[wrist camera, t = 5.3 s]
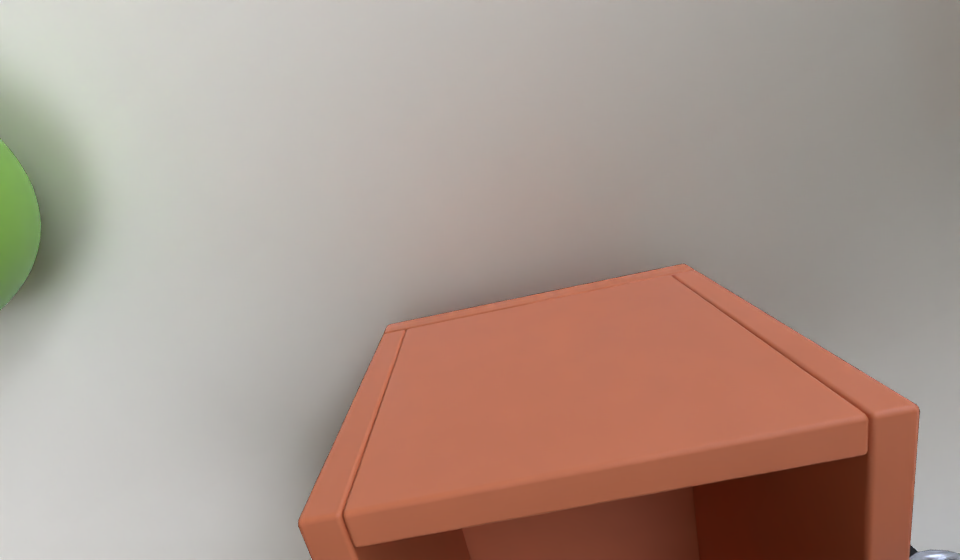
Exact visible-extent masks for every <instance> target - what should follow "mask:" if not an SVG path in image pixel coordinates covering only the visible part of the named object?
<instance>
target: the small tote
mask: <svg viewBox="0 0 960 560" xmlns="http://www.w3.org/2000/svg"><path fill="white" fill-rule="evenodd" d="M919 415H920V410H919V407H918V406H917V405H916V404H914V403H913V402H911V401H910V400H908V399H906V398H905V397H903V396H901V395H900V394H898V393H896V392H895V391H893V390H891V389H890V388H888V387H887V386H885V385H883V384H882V383H880V382H878V381H877V380H875V379H873V378H872V377H870V376H868V375H867V374H865V373H864V372H862V371H860V370H859V369H857V368H855V367H854V366H852V365H850V364H849V363H847V362H845V361H844V360H842V359H841V358H839V357H837V356H836V355H834V354H832V353H831V352H829V351H827V350H826V349H824V348H822V347H821V346H819V345H818V344H816V343H814V342H813V341H811V340H809V339H808V338H806V337H804V336H803V335H801V334H799V333H798V332H796V331H795V330H793V329H791V328H790V327H788V326H786V325H785V324H783V323H781V322H780V321H778V320H776V319H775V318H773V317H772V316H770V315H768V314H767V313H765V312H763V311H762V310H760V309H758V308H757V307H755V306H753V305H752V304H750V303H749V302H747V301H745V300H744V299H742V298H740V297H739V296H737V295H735V294H734V293H732V292H730V291H729V290H727V289H726V288H724V287H722V286H721V285H719V284H717V283H716V282H714V281H712V280H711V279H709V278H707V277H706V276H704V275H703V274H701V273H699V272H698V271H695V270H694V269H693V268H691V267H689V266H688V265H686V264H679V265H675V266H670V267H665V268H660V269H655V270H650V271H646V272H641V273H636V274H631V275H626V276H621V277H616V278H612V279H607V280H602V281H597V282H592V283H587V284H583V285H578V286H573V287H568V288H563V289H558V290H554V291H549V292H544V293H539V294H534V295H529V296H525V297H520V298H515V299H510V300H505V301H500V302H496V303H491V304H486V305H481V306H476V307H471V308H467V309H462V310H457V311H452V312H447V313H442V314H438V315H433V316H428V317H423V318H418V319H413V320H408V321H404V322H399V323H394V324H389V325H388V326H387V327H386V329H385V332H384V335H383V336H382V338H381V340H380V343H379V345H378V347H377V349H376V351H375V353H374V356H373V358H372V360H371V362H370V364H369V367H368V369H367V371H366V373H365V375H364V378H363V380H362V382H361V384H360V386H359V388H358V391H357V393H356V395H355V397H354V399H353V402H352V404H351V406H350V408H349V410H348V413H347V415H346V417H345V419H344V421H343V424H342V426H341V428H340V430H339V432H338V434H337V437H336V439H335V441H334V443H333V445H332V448H331V450H330V452H329V454H328V456H327V459H326V461H325V463H324V465H323V467H322V469H321V472H320V474H319V476H318V478H317V480H316V483H315V485H314V487H313V489H312V491H311V494H310V496H309V498H308V500H307V502H306V505H305V507H304V509H303V511H302V513H301V515H300V518H299V520H298V527H299V529H300V531H301V534H302V536H303V539H304V541H305V544H306V546H307V548H308V551H309V553H310V556H311V558H312V560H909V555H910V541H911V527H912V513H913V499H914V485H915V471H916V457H917V443H918V429H919Z"/></svg>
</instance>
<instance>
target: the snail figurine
mask: <svg viewBox="0 0 960 560" xmlns="http://www.w3.org/2000/svg"><path fill="white" fill-rule="evenodd" d="M40 235H41V219H40V211H39V206H38V202H37V198H36V195H35V192H34V189H33V187H32V184H31V182H30V180H29V178H28V176H27V174H26V172H25V171H24V169H23V167H22V166H21V164H20V163H19V161H18V160H17V158H16V157H15V156H14V154H13V153H12V152H11V150H10V149H9V148H8V147H7V146H6V145H5V143H4V142H3V141H2V140H1V139H0V310H1V309H2V308H3V307H4V306H5V305H6V304H7V303H8V302H9V301H10V300H11V299H12V298H13V297H14V295H15V294H16V293H17V292H18V290H19V289H20V288H21V286H22V285H23V283H24V282H25V280H26V278H27V277H28V275H29V273H30V271H31V269H32V267H33V264H34V262H35V259H36V256H37V252H38V249H39V243H40Z"/></svg>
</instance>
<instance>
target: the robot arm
mask: <svg viewBox="0 0 960 560" xmlns="http://www.w3.org/2000/svg"><path fill="white" fill-rule="evenodd" d="M909 560H960V553H956V552H951V551H946V550H926V551H922V552H917V551H916V550H915V549H914V548H913V547H912V546H911V545H910V555H909Z"/></svg>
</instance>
